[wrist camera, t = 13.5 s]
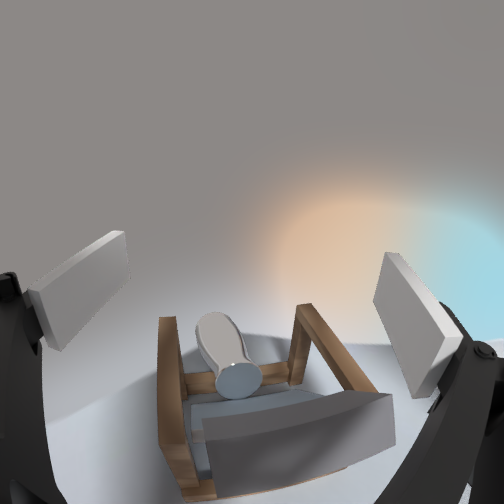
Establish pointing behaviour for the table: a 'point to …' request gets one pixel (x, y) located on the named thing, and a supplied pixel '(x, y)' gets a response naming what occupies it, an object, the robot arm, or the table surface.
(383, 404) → the trapdoor
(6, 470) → the robot arm
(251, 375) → the beer glass
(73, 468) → the table surface
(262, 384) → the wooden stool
